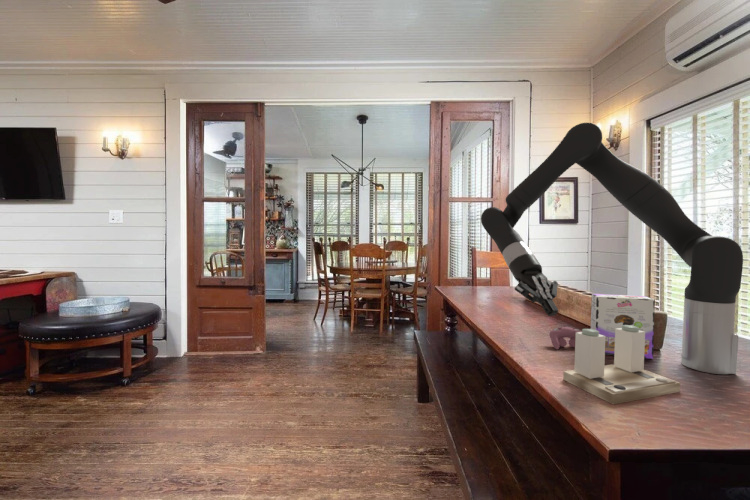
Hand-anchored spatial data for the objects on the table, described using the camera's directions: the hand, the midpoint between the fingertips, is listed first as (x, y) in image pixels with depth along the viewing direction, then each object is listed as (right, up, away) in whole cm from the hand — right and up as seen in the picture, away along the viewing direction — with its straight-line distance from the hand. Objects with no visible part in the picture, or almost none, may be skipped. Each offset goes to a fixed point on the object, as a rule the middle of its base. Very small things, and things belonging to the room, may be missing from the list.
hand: (553, 314), depth 87 cm
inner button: (+14, -12, -6) cm, 19 cm away
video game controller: (+12, -13, +16) cm, 24 cm away
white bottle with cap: (+3, -12, -9) cm, 15 cm away
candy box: (+24, -13, +11) cm, 30 cm away
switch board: (+9, -14, -10) cm, 20 cm away
